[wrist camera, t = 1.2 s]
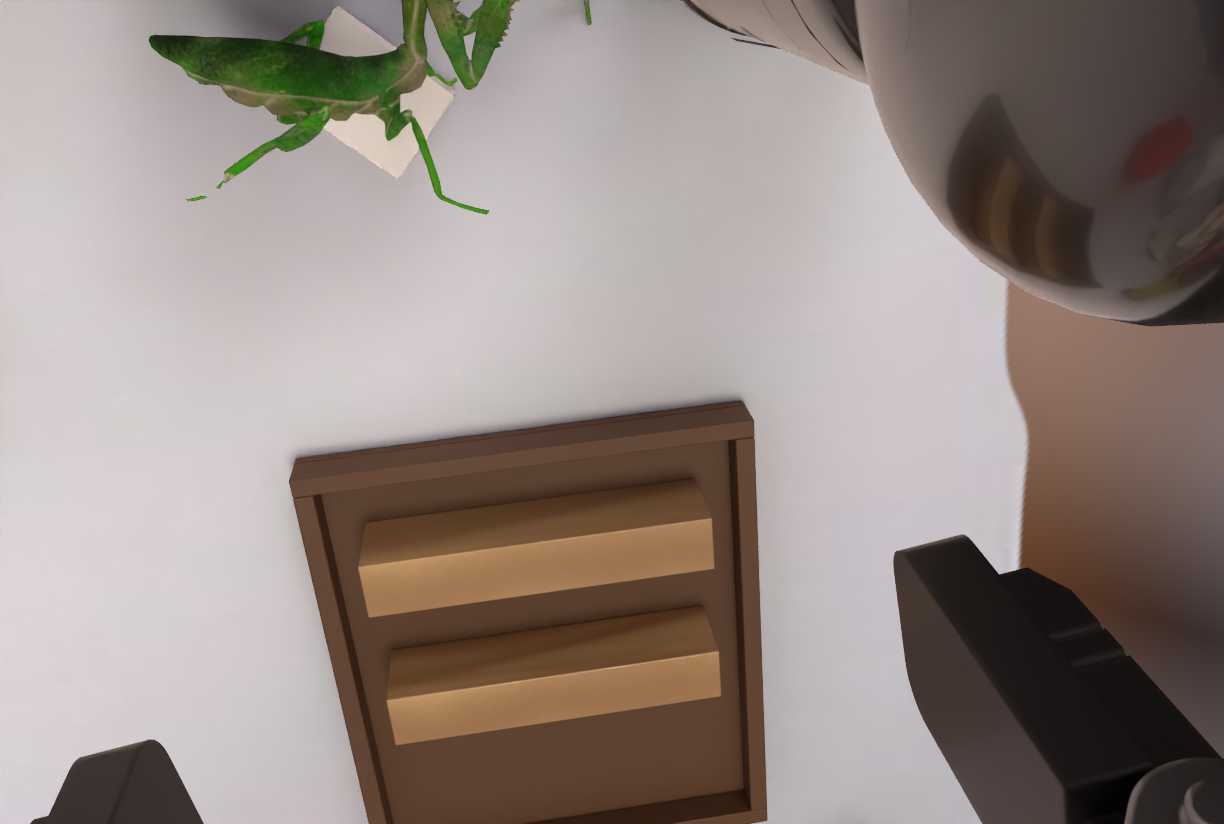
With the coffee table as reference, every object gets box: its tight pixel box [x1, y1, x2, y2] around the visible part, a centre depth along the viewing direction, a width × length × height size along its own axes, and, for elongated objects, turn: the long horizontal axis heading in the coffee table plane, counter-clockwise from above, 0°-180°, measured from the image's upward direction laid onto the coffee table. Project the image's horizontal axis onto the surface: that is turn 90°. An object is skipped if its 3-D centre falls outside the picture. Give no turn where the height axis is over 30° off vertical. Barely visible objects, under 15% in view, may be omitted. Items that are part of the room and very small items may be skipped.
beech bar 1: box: [358, 479, 714, 617], centre depth 46 cm, size 2×14×4 cm, turn 95°
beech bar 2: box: [386, 606, 721, 745], centre depth 48 cm, size 2×14×4 cm, turn 95°
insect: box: [149, 0, 591, 214], centre depth 33 cm, size 10×14×10 cm
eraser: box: [319, 6, 456, 180], centre depth 39 cm, size 1×5×4 cm
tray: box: [289, 401, 767, 824], centre depth 49 cm, size 22×19×2 cm
